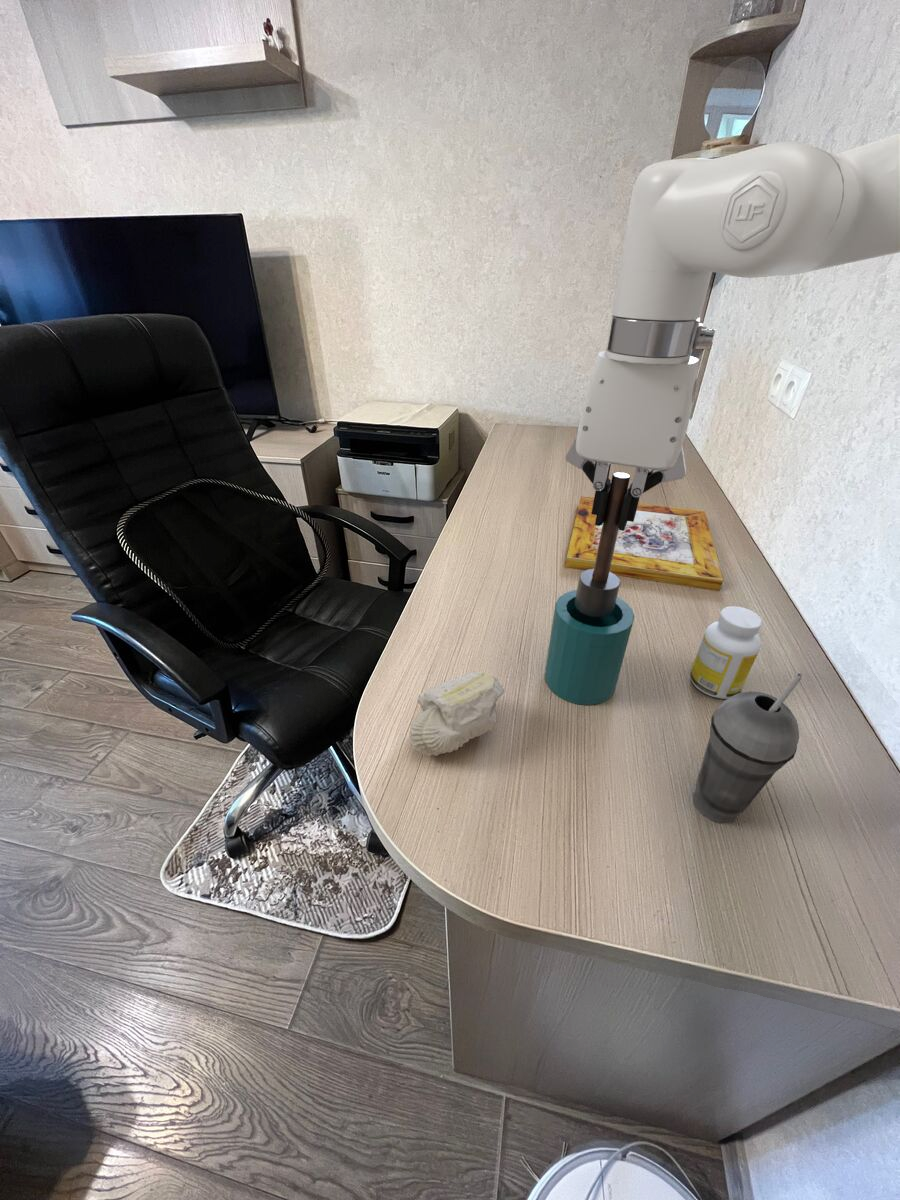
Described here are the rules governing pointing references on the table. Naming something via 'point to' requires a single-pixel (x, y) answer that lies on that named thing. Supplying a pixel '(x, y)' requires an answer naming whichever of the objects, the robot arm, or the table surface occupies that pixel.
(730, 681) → the pill bottle
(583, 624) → the jar
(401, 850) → the table surface
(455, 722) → the fossil replica
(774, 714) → the beverage cup
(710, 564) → the picture frame
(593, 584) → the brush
